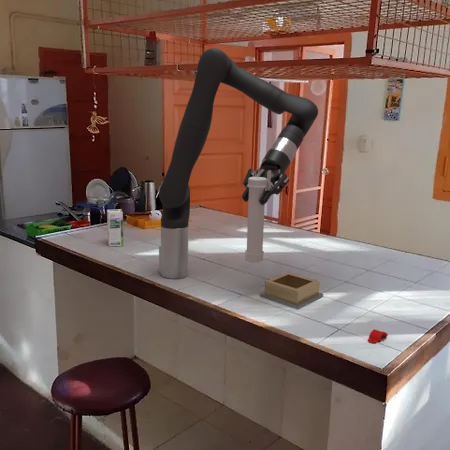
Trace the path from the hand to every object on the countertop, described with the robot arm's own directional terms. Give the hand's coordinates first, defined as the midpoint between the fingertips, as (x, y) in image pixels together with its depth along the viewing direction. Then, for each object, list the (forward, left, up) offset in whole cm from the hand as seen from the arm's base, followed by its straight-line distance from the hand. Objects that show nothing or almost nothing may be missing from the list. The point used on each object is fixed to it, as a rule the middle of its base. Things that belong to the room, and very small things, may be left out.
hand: (252, 201), depth 142 cm
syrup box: (-78, +10, -31) cm, 84 cm away
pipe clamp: (+38, +6, -31) cm, 50 cm away
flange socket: (+6, +14, -31) cm, 34 cm away
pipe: (0, +2, -18) cm, 18 cm away
